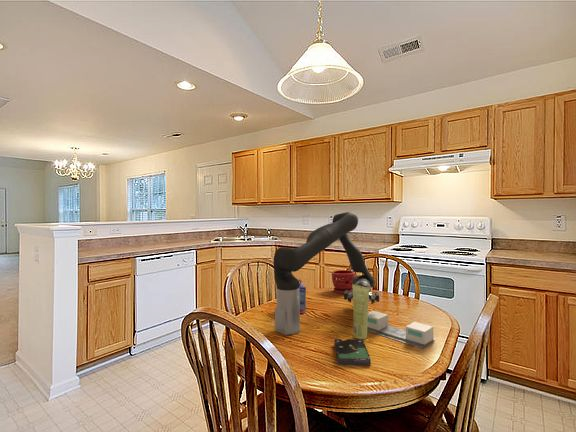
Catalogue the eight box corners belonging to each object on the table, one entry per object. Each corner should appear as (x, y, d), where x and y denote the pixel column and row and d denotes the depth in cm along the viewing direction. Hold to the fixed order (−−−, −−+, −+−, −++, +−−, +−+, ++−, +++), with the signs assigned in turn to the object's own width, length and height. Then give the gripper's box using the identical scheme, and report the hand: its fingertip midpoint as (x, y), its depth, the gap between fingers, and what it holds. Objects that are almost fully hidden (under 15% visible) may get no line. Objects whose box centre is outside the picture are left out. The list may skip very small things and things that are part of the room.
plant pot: (358, 290, 185) (357, 270, 185) (349, 296, 174) (349, 274, 174) (337, 288, 192) (337, 268, 192) (328, 293, 181) (328, 272, 181)
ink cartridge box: (306, 313, 147) (306, 282, 147) (295, 314, 146) (294, 283, 145) (300, 306, 157) (299, 277, 156) (289, 307, 155) (289, 278, 155)
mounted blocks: (424, 344, 110) (424, 332, 110) (363, 325, 128) (363, 314, 128) (433, 338, 115) (433, 326, 115) (372, 321, 133) (372, 310, 133)
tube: (367, 334, 122) (367, 284, 121) (370, 340, 117) (369, 287, 116) (352, 334, 122) (352, 284, 122) (354, 339, 117) (354, 287, 116)
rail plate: (422, 349, 109) (422, 346, 109) (361, 329, 127) (361, 326, 127) (435, 340, 116) (435, 337, 116) (375, 322, 134) (375, 320, 134)
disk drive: (333, 346, 113) (337, 366, 98) (333, 338, 113) (337, 357, 98) (363, 346, 112) (371, 367, 98) (363, 339, 112) (371, 358, 98)
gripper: (346, 281, 143) (342, 290, 127) (378, 282, 139) (379, 292, 123) (346, 297, 143) (342, 308, 127) (378, 299, 139) (379, 311, 123)
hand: (360, 300), depth 125 cm, fingers open, 8 cm apart
